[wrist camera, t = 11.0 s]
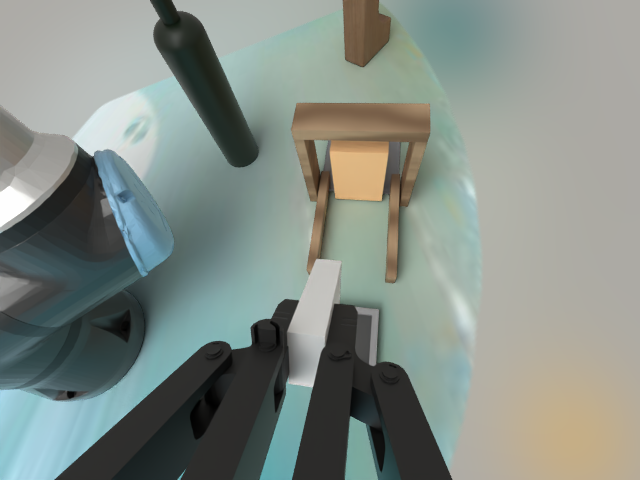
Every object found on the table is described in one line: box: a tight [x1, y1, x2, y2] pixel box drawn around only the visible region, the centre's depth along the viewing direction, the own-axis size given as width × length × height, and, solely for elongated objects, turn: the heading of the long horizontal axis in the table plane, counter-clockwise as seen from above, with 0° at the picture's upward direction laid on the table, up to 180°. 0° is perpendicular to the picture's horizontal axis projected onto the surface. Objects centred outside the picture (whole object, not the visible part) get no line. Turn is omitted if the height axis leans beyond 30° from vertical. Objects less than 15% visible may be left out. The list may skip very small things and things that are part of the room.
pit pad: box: [355, 307, 379, 366], centre depth 38 cm, size 8×8×1 cm
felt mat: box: [324, 140, 400, 194], centre depth 49 cm, size 11×12×1 cm
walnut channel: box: [291, 103, 430, 283], centre depth 38 cm, size 16×15×16 cm
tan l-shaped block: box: [330, 140, 389, 201], centre depth 43 cm, size 12×7×11 cm, turn 172°
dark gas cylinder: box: [150, 0, 258, 167], centre depth 39 cm, size 6×6×30 cm
